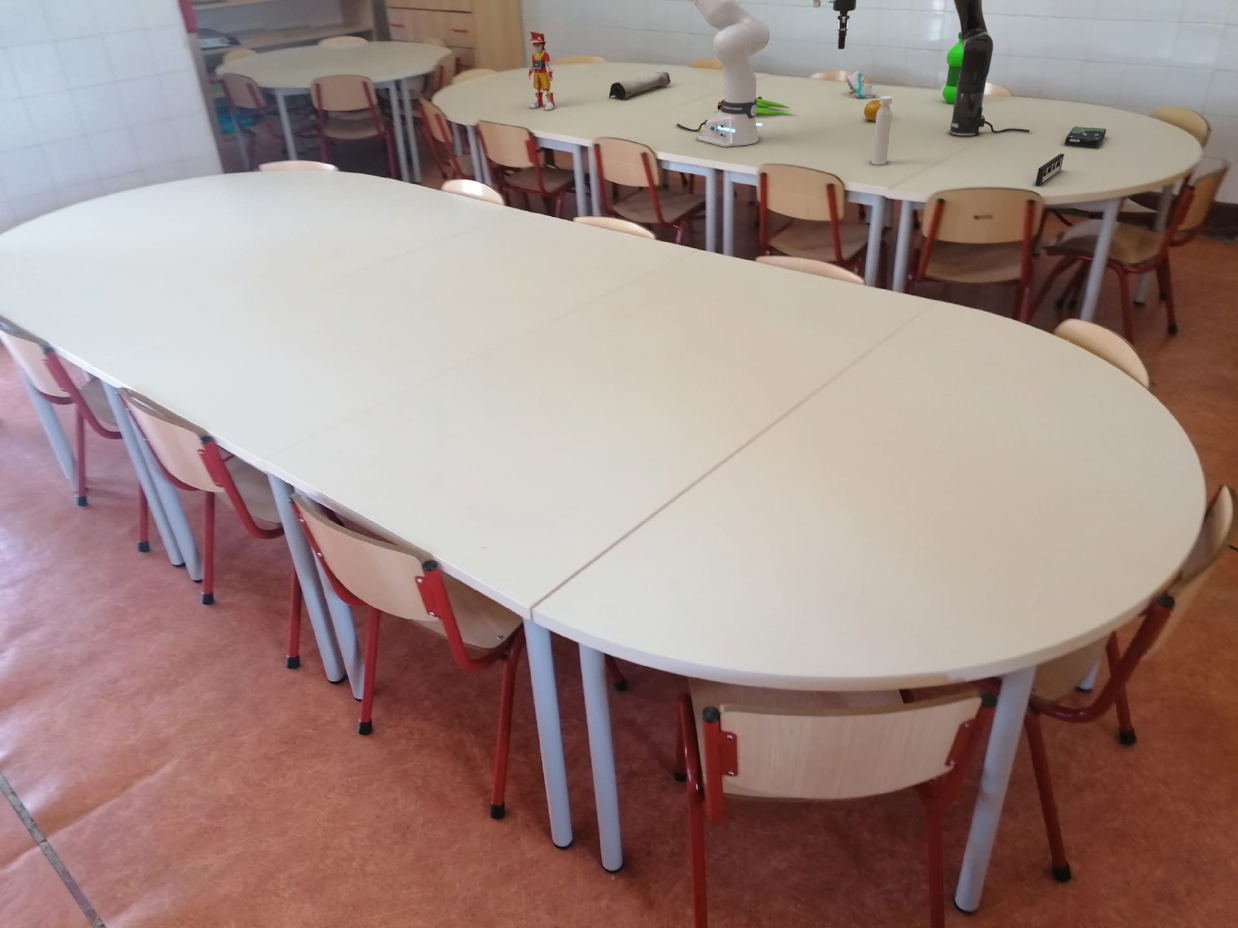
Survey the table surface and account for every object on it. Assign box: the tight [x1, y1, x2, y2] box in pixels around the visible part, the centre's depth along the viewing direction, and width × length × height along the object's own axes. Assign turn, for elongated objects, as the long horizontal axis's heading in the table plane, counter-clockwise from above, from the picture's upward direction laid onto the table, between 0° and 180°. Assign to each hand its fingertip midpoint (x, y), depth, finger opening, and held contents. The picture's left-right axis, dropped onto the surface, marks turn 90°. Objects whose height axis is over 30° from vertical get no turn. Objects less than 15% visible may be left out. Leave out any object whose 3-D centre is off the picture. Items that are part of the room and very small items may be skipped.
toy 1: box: [527, 31, 556, 111], centre depth 374 cm, size 12×9×30 cm
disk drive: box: [1064, 126, 1107, 148], centre depth 303 cm, size 10×3×15 cm
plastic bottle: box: [942, 31, 963, 104], centre depth 348 cm, size 10×10×25 cm
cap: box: [879, 95, 893, 106], centre depth 285 cm, size 4×4×2 cm
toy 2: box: [716, 96, 794, 116], centre depth 357 cm, size 28×5×30 cm
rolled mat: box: [608, 71, 672, 101], centre depth 395 cm, size 30×9×10 cm
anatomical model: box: [846, 69, 878, 99], centre depth 370 cm, size 15×10×10 cm
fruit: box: [863, 99, 881, 122], centre depth 337 cm, size 8×8×8 cm
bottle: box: [870, 104, 893, 166], centre depth 290 cm, size 5×5×20 cm
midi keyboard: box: [1035, 153, 1065, 186], centre depth 273 cm, size 18×1×5 cm, turn 138°
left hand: (824, 5), depth 283 cm, fingers open, 8 cm apart
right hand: (841, 46), depth 311 cm, fingers open, 8 cm apart
